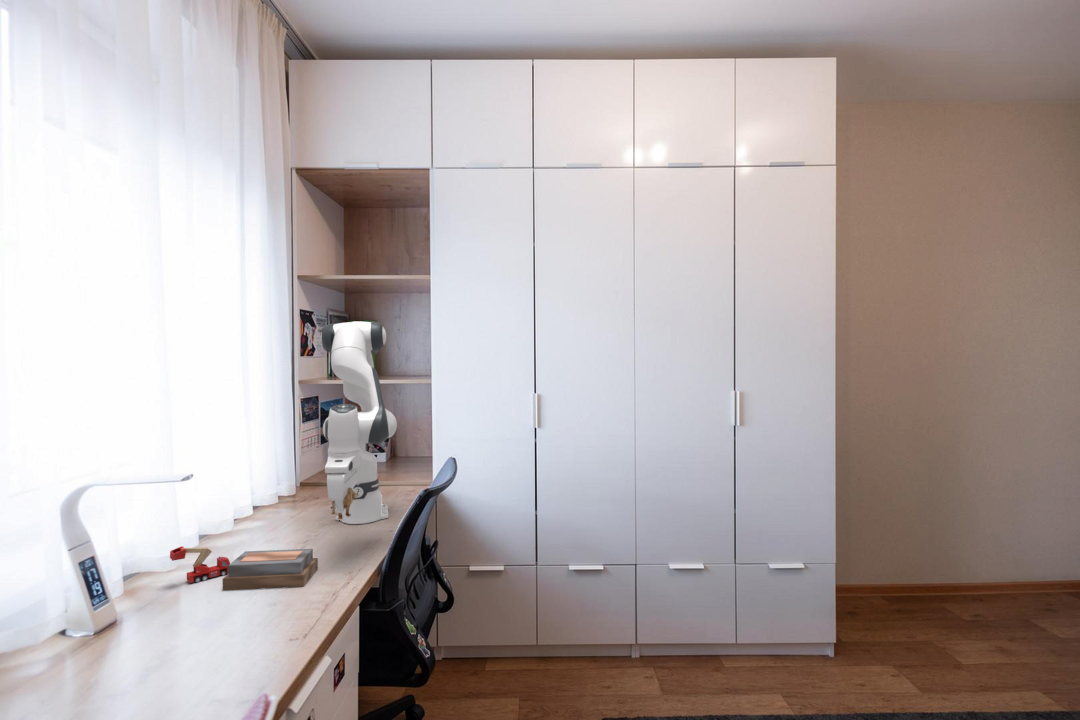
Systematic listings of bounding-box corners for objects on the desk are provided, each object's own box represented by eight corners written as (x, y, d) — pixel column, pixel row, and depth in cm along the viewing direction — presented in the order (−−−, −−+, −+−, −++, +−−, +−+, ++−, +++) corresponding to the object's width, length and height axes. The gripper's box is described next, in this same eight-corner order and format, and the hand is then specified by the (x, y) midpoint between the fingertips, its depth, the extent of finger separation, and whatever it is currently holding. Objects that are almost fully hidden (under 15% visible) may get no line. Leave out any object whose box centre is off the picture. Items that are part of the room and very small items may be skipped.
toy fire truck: (231, 573, 152) (231, 539, 152) (173, 589, 142) (172, 552, 142) (228, 570, 154) (227, 536, 154) (170, 585, 145) (169, 548, 145)
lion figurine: (361, 517, 160) (359, 486, 160) (344, 522, 156) (342, 491, 156) (338, 507, 170) (337, 479, 170) (321, 512, 167) (320, 482, 166)
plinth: (243, 571, 153) (242, 549, 153) (317, 568, 155) (317, 546, 155) (222, 590, 141) (222, 566, 141) (303, 586, 143) (303, 562, 143)
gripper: (342, 453, 171) (342, 497, 172) (322, 468, 151) (323, 518, 151) (363, 453, 172) (363, 496, 172) (346, 468, 151) (347, 518, 152)
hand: (344, 507), depth 162 cm, fingers closed on lion figurine, 8 cm apart
